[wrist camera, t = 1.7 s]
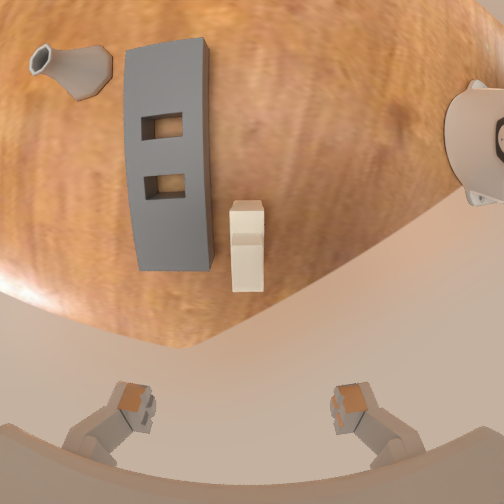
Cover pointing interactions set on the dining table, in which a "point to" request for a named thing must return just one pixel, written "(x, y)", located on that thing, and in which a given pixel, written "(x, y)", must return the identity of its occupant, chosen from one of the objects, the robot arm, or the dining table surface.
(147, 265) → the rail
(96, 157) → the dining table surface
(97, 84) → the flask
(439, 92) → the dining table surface
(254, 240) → the clip
